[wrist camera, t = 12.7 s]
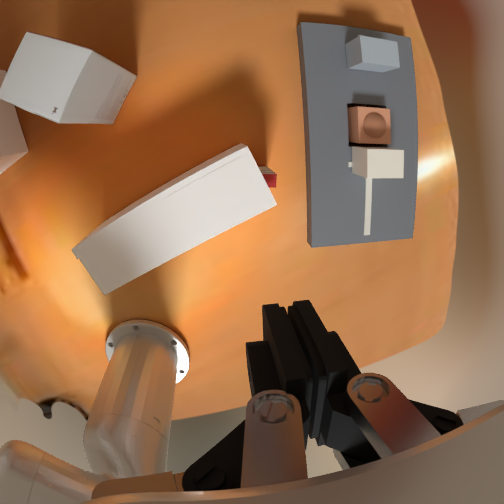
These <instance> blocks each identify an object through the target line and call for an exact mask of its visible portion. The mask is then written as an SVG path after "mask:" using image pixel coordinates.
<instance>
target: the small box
mask: <svg viewBox="0 0 504 504" xmlns="http://www.w3.org/2000/svg"><path fill="white" fill-rule="evenodd" d="M136 78H137V76H136V75H135V74H133V73H132V72H130V71H128V70H126V69H125V68H123V67H121V66H120V65H118V64H116V63H115V62H113V61H111V60H110V59H108V58H106V57H104V56H103V55H101V54H99V53H97V52H96V51H94V50H93V49H90V48H87V47H84V46H81V45H78V44H74V43H71V42H68V41H64V40H61V39H57V38H53V37H49V36H45V35H41V34H37V33H33V32H28V31H27V32H26V34H25V36H24V38H23V39H22V41H21V43H20V45H19V47H18V50H17V52H16V54H15V56H14V58H13V60H12V62H11V64H10V67H9V69H8V71H7V74H6V76H5V78H4V81H3V83H2V86H1V88H0V99H2V100H4V101H6V102H9V103H11V104H13V105H15V106H18V107H20V108H22V109H24V110H26V111H28V112H31V113H34V114H37V115H39V116H42V117H44V118H47V119H49V120H52V121H54V122H56V123H94V124H113V123H114V121H115V119H116V117H117V115H118V113H119V111H120V109H121V106H122V104H123V102H124V100H125V98H126V96H127V94H128V92H129V91H130V89H131V87H132V85H133V83H134V81H135V79H136Z"/></svg>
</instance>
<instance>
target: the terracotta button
mask: <svg viewBox="0 0 504 504" xmlns="http://www.w3.org/2000/svg"><path fill="white" fill-rule="evenodd" d="M347 114H348V139H349V142H354V143H371V144H391V124H390V109H385V108H373V107H358V106H357V107H350V108H347Z"/></svg>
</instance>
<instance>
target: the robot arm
mask: <svg viewBox="0 0 504 504" xmlns="http://www.w3.org/2000/svg"><path fill="white" fill-rule="evenodd" d="M262 315H263V341H256V342H246V356H247V367H248V375H249V382H250V389H251V395H252V398H251V399H250V400H249V402H248V404H247V407H246V419H245V420H244V421H243V422H242V423H241V424H240V425H238V426H237V427H236V428H235V429H234V430H233V431H232V432H230V433H229V434H228V435H227V436H226V437H225V438H224V439H222V440H221V441H220V442H219V443H218V444H216V446H214V447H213V448H212V449H210V450H209V451H208V452H207V453H206V454H205V455H203V456H202V457H201V458H200V459H198V460H197V461H196V462H195V463H193V464H192V465H191V466H190V467H189V468H188V469H187V470H186V471H185V472H182V473H177V474H173V473H172V471H171V472H166V464H167V452H168V443H169V434H170V425H171V417H172V408H173V401H174V393H175V386H176V383H178V382H179V381H181V380H182V379H183V378H184V377H185V375H186V374H187V372H188V369H189V363H190V355H189V351H188V349H187V346H186V344H185V343H184V342H183V340H182V339H181V338H180V337H179V336H178V335H177V334H176V333H175V332H174V331H172V330H171V329H169V328H168V327H166V326H164V325H162V324H160V323H156V322H153V321H149V320H129V321H125V322H123V323H120V324H119V325H117V326H116V327H114V329H113V330H112V331H111V332H110V334H109V336H108V338H107V341H106V347H105V350H106V356H107V358H108V361H109V364H108V367H107V369H106V372H105V374H104V377H103V379H102V382H101V385H100V387H99V390H98V393H97V395H96V398H95V401H94V403H93V406H92V409H91V412H90V415H89V418H88V421H87V423H86V427H85V430H84V434H83V447H84V452H85V455H86V458H87V461H88V463H89V466H90V468H91V470H92V472H93V473H91V472H88V471H84V470H82V469H80V468H77V467H75V466H73V465H70V464H69V463H67V462H65V461H62V460H60V459H58V458H56V457H54V456H52V455H50V454H48V453H47V452H45V451H43V450H41V449H39V448H37V447H35V446H33V445H31V444H29V443H26V442H23V441H19V440H11V441H8V442H7V443H5V444H4V445H3V446H2V447H1V448H0V504H504V401H503V400H500V401H495V402H491V403H487V404H483V405H479V406H475V407H471V408H467V409H462V410H458V411H457V413H456V414H455V413H454V412H451V411H448V410H445V409H441V408H437V407H434V406H430V405H426V404H422V403H419V402H416V401H412V400H409V399H407V398H406V396H405V395H404V394H403V393H402V392H401V391H400V390H399V389H398V388H397V387H396V386H395V385H394V384H393V383H392V382H391V381H390V380H389V379H388V378H387V377H385V376H383V375H380V374H376V373H363V374H361V372H360V370H359V369H358V367H357V365H356V364H355V362H354V360H353V359H352V357H351V355H350V354H349V352H348V350H347V349H346V347H345V345H344V344H343V342H342V341H341V339H340V337H339V336H338V334H337V333H336V332H335V331H331V332H327V330H326V328H325V326H324V325H323V323H322V321H321V319H320V318H319V316H318V314H317V313H316V311H315V309H314V307H313V306H312V304H311V302H310V301H309V300H303V301H294V302H293V306H288V314H287V312H286V309H285V307H279V304H278V303H277V304H267V305H263V306H262ZM308 434H309V437H310V438H311V439H312V438H315V439H316V442H317V444H318V446H321V445H326V446H328V447H330V448H333V453H334V455H335V458H336V459H337V461H338V462H339V464H340V466H341V467H342V469H343V470H342V471H338V472H334V473H330V474H326V475H322V476H317V477H312V478H308V476H307V464H306V454H305V450H306V446H307V439H308Z"/></svg>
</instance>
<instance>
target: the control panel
mask: <svg viewBox="0 0 504 504" xmlns="http://www.w3.org/2000/svg"><path fill="white" fill-rule="evenodd" d="M359 35H360V36H367V37H373V38H379V39H385V40H390V41H395V42H397V45H398V53H399V62H400V68H397V69H393V70H390V71H386V72H383V73H382V72H374V71H366V70H357V69H348V67H347V57H346V47H345V44H347V43H348V42H350V41H351V40H353V39H355V38H356V37H358V36H359ZM297 36H298V47H299V58H300V70H301V83H302V98H303V114H304V132H305V154H306V184H307V242H308V243H309V245H310V246H311V248H314V247H325V246H335V245H346V244H356V243H367V242H377V241H388V240H398V239H409V238H413V230H414V219H415V207H416V192H417V169H418V120H417V98H416V83H415V72H414V62H413V53H412V46H411V38H409V37H405V36H401V35H396V34H391V33H386V32H381V31H375V30H370V29H363V28H357V27H350V26H342V25H333V24H322V23H309V22H300V24H299V25H298V26H297ZM347 104H351V105H367V106H378V108H385V109H390V124H391V144H380V146H362V147H388V148H394V149H400V150H404V175H403V178H370V179H367V178H365V177H362V176H359V175H357V174H354V173H352V146H349V139H348V114H347Z"/></svg>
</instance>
